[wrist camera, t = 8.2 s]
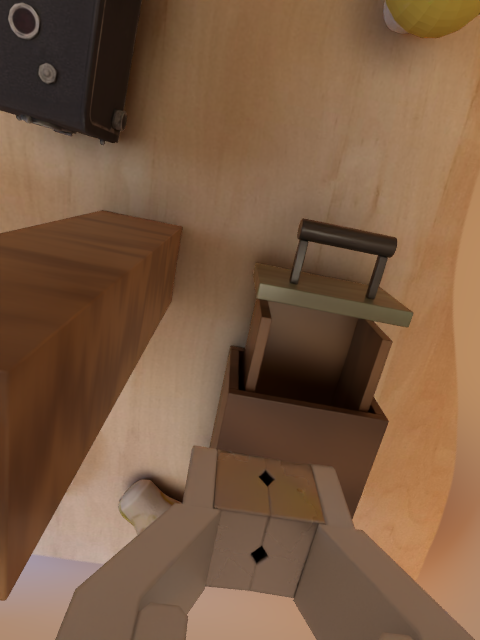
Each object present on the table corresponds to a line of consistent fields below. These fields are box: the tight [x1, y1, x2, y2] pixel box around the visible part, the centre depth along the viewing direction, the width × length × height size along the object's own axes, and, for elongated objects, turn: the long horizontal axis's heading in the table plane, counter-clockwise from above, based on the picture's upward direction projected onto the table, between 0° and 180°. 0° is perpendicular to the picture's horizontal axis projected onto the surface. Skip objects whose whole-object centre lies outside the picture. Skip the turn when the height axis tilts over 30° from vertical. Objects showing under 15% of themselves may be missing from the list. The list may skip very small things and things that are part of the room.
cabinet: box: [209, 346, 389, 519], centre depth 37 cm, size 15×13×9 cm
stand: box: [0, 210, 182, 601], centre depth 23 cm, size 7×7×28 cm
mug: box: [118, 480, 182, 535], centre depth 42 cm, size 8×10×10 cm
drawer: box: [239, 218, 413, 413], centre depth 33 cm, size 18×11×7 cm, turn 169°
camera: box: [0, 0, 142, 145], centre depth 25 cm, size 11×11×15 cm
